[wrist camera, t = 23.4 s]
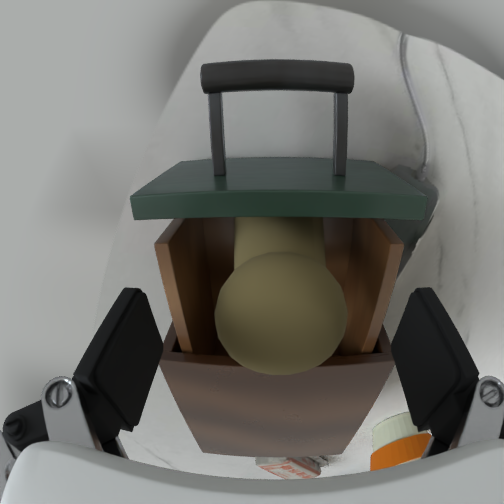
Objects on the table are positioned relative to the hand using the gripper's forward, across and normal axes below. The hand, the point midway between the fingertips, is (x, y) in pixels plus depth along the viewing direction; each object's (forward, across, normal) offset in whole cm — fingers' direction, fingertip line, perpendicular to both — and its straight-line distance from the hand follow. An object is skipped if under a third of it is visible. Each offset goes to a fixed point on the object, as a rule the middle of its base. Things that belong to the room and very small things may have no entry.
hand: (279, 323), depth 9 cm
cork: (+11, 0, +1) cm, 11 cm away
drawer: (+12, 0, +2) cm, 12 cm away
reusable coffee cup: (+12, -22, +39) cm, 46 cm away
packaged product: (+11, -4, +50) cm, 51 cm away
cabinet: (+12, 0, +15) cm, 19 cm away
